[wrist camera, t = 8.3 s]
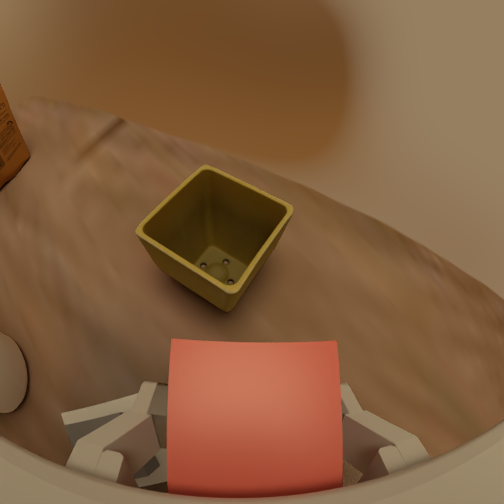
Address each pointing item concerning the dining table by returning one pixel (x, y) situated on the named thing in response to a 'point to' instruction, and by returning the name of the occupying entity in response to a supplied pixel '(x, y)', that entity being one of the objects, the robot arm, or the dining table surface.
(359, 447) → the robot arm
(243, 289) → the flower pot
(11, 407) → the alcohol
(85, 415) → the grey cubes on base
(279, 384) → the tall red square pillar
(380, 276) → the dining table surface
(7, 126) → the coffee package
